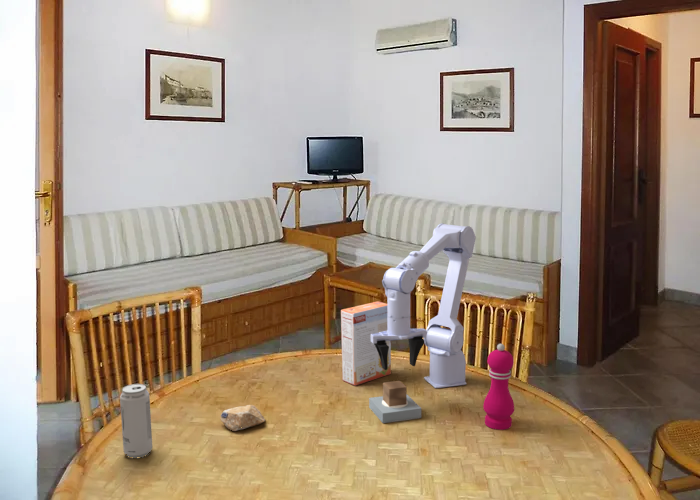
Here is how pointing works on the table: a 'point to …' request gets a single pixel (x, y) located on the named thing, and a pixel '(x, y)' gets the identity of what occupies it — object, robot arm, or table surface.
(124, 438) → the energy drink can
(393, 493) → the table surface
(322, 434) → the table surface
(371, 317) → the cracker box
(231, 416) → the stone
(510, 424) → the pepper mill
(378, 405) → the plinth
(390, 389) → the walnut block
